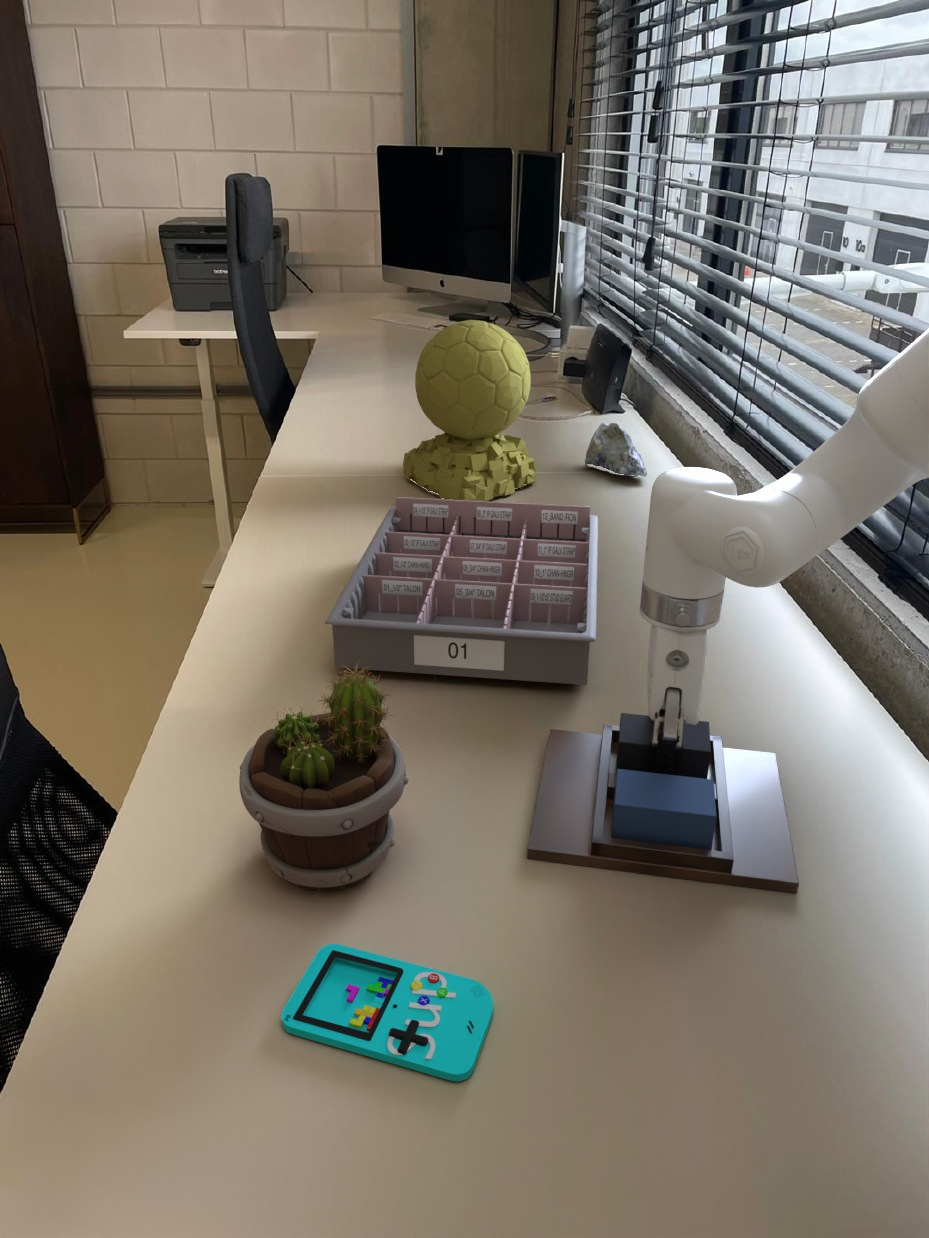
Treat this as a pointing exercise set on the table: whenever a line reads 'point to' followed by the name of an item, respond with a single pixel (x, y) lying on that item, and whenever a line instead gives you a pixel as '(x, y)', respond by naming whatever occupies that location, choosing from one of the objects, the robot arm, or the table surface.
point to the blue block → (664, 809)
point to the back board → (581, 835)
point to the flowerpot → (327, 788)
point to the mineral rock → (614, 451)
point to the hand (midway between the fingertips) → (662, 756)
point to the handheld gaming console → (391, 1011)
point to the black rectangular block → (640, 732)
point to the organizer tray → (473, 592)
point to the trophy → (471, 413)
